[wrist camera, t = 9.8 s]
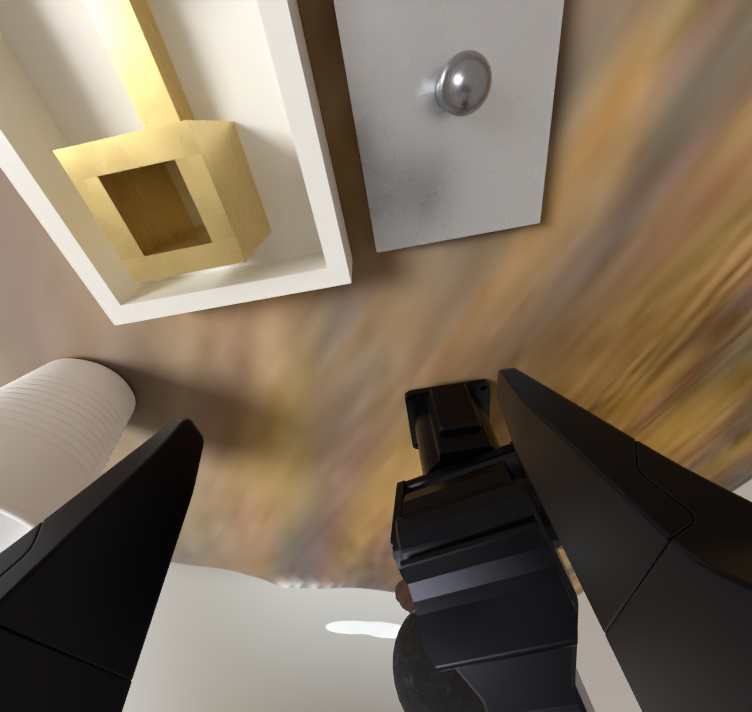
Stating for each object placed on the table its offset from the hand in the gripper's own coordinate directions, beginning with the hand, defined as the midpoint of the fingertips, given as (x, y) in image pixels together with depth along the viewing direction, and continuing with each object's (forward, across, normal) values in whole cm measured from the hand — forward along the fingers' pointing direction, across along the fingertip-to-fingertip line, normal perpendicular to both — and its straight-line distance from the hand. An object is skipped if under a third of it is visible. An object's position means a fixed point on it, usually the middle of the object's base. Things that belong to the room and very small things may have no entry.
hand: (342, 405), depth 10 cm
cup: (+13, +21, +6) cm, 25 cm away
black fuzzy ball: (+13, -2, +49) cm, 50 cm away
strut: (+12, +7, -8) cm, 16 cm away
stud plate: (+12, -6, -8) cm, 16 cm away
